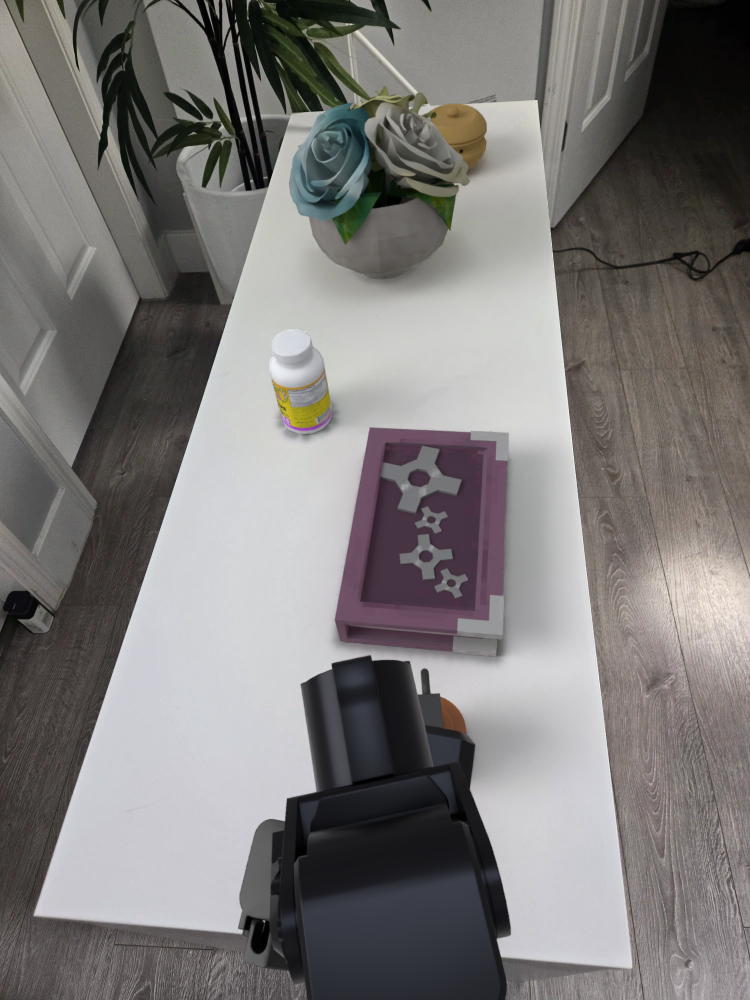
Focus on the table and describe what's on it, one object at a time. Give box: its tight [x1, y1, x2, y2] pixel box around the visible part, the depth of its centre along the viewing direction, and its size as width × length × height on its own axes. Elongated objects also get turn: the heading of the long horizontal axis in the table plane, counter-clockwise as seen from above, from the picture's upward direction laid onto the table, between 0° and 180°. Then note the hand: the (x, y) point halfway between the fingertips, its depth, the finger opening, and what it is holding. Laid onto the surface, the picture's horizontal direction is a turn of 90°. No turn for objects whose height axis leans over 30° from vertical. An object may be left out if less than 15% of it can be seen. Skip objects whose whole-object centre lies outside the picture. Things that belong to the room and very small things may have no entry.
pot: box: [428, 103, 488, 171], centre depth 121 cm, size 12×12×10 cm
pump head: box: [418, 667, 443, 728], centre depth 59 cm, size 6×2×2 cm, turn 2°
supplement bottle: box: [268, 328, 334, 435], centre depth 87 cm, size 7×7×13 cm
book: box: [334, 426, 510, 658], centre depth 77 cm, size 25×16×5 cm, turn 172°
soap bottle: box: [440, 696, 468, 735], centre depth 63 cm, size 6×6×7 cm
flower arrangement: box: [288, 85, 471, 280], centre depth 100 cm, size 25×25×24 cm
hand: (402, 893), depth 48 cm, fingers closed
